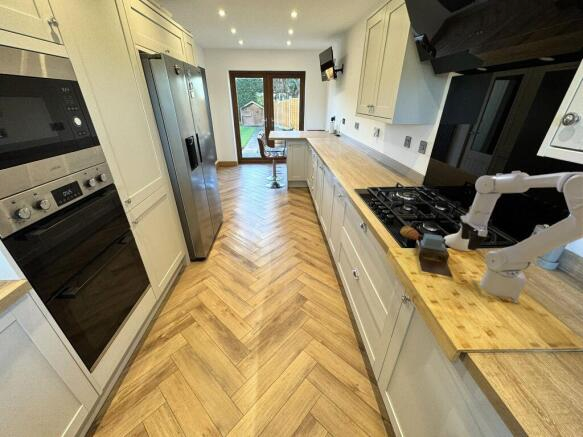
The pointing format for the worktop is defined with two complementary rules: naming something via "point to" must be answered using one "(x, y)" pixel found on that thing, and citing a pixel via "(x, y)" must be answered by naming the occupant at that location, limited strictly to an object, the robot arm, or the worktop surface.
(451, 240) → the flower in vase
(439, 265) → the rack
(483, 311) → the worktop surface
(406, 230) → the pastry
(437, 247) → the blue-grey block
